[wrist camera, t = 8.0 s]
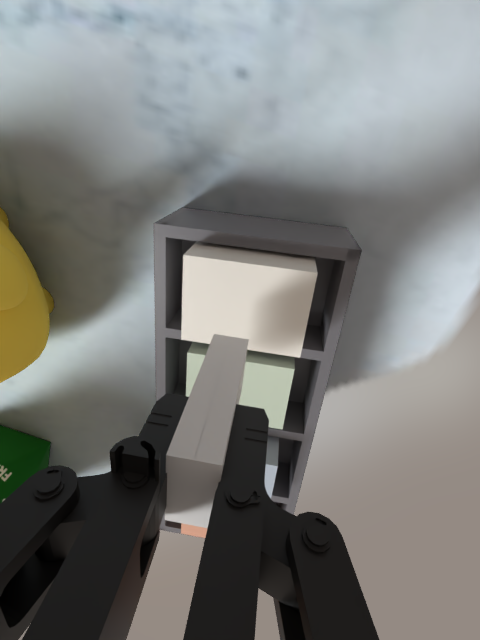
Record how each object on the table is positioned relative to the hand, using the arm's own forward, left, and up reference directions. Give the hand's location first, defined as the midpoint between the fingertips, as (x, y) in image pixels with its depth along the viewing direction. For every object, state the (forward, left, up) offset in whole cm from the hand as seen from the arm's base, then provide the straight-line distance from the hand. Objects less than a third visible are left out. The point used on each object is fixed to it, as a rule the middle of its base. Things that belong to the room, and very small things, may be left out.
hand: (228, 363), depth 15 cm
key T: (+4, 0, -7) cm, 8 cm away
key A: (-2, 0, -5) cm, 5 cm away
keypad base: (+7, 0, -9) cm, 12 cm away
